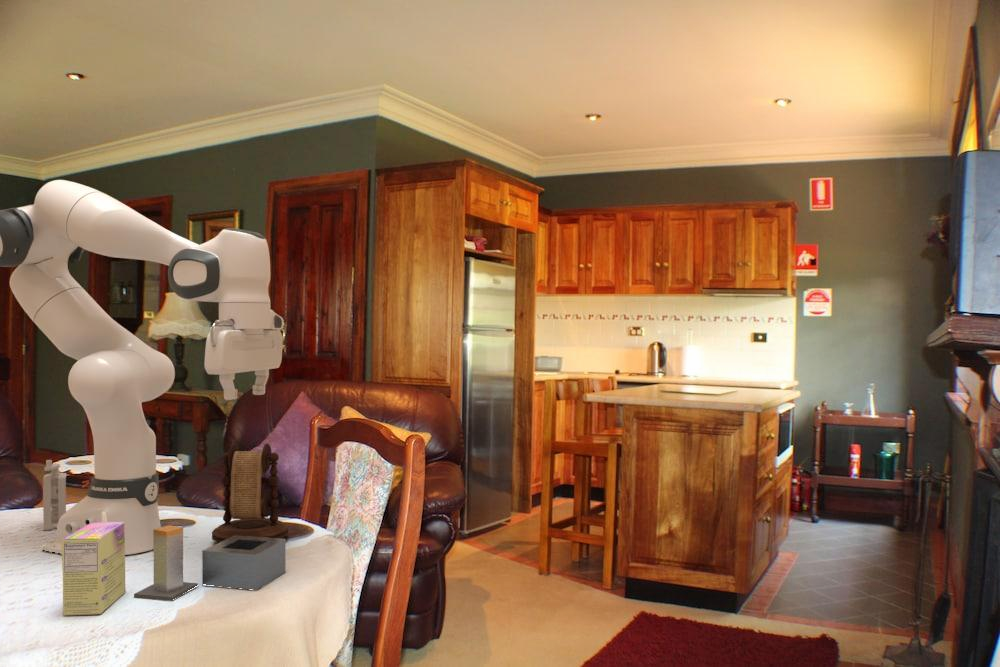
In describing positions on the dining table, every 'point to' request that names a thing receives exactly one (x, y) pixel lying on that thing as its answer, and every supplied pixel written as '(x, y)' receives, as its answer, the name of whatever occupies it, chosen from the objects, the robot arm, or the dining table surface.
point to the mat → (152, 594)
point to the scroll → (250, 495)
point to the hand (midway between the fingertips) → (245, 397)
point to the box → (93, 568)
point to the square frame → (243, 562)
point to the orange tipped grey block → (168, 558)
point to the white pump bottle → (53, 495)
